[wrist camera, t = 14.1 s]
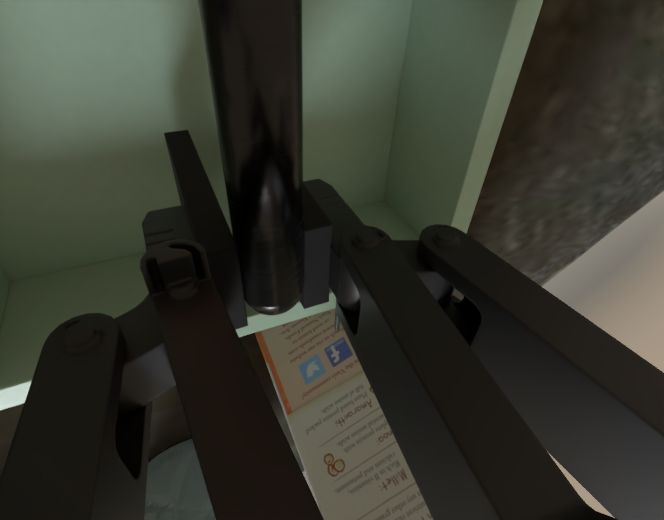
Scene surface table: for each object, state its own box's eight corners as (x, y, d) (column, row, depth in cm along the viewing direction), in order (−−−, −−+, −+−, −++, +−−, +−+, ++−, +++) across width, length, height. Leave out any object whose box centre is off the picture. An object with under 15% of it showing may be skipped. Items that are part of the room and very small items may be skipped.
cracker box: (237, 310, 23) (487, 1009, 8) (327, 251, 23) (727, 849, 8) (331, 391, 33) (513, 767, 19) (393, 350, 33) (622, 696, 19)
